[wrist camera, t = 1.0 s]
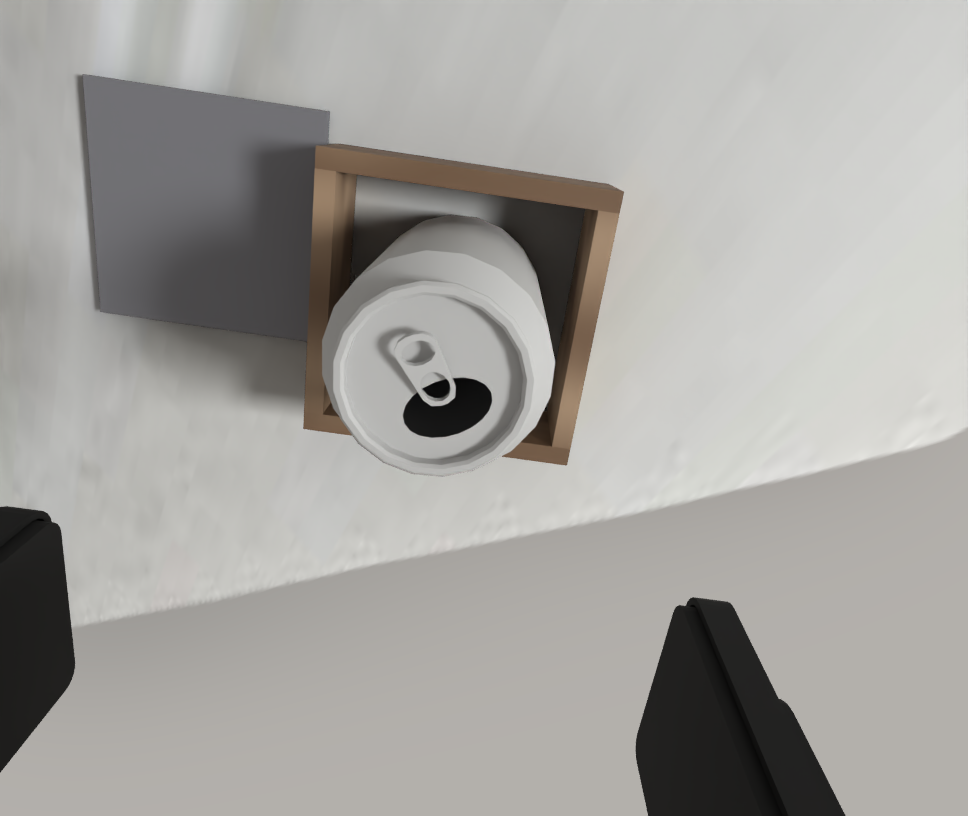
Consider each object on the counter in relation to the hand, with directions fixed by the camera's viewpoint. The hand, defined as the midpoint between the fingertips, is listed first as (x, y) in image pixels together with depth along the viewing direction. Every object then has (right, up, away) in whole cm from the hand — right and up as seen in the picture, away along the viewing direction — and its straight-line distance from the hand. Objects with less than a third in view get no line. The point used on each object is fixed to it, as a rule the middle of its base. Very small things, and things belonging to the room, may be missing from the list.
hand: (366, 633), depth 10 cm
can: (+1, +9, +21) cm, 23 cm away
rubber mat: (-10, +12, +20) cm, 25 cm away
